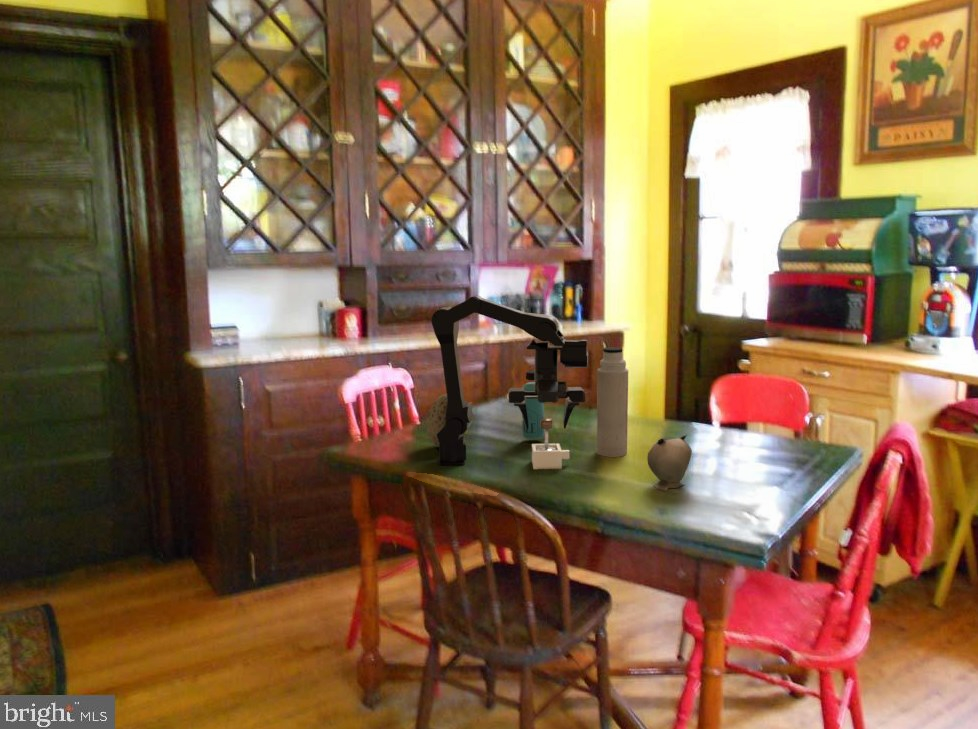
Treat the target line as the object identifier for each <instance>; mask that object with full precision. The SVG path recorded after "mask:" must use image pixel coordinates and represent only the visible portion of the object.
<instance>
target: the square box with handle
mask: <svg viewBox="0 0 978 729" xmlns="http://www.w3.org/2000/svg"><path fill="white" fill-rule="evenodd" d="M539 447H545V443H532V444H531V463H532V468H533V470H561V469H562V468H563V467H562V466H563V464H562V463H563V462H562V461H563V460H570V450H569V449H562V447H561V444H560V443H548V447H553V448H555V449H556V450H552V451H537V449H538V448H539Z"/></svg>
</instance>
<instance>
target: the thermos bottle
mask: <svg viewBox="0 0 978 729" xmlns="http://www.w3.org/2000/svg"><path fill="white" fill-rule="evenodd" d="M602 352H603V358H602V359H601V360H599V367H598V368H597V370H596V371H597V374H596V375H597V376H596V378H597V379H596V380H597V381H596V384H597V385H596V419H597V420H596V421H597V422H596V454H598V455H600V456H603V457H609V458H610V457H614V458H616V457H623V456H626V455H627V454H628V427H629V426H628V425H629V424H628V422H629V420H628V409H629V407H628V406H629V369H628V368H626V367H627V366H626V365H627V362H626V359H624V358H623V348H622V347H616V346H615V347H614V346H609V347H604V348H603V349H602Z"/></svg>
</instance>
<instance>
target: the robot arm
mask: <svg viewBox="0 0 978 729" xmlns="http://www.w3.org/2000/svg"><path fill="white" fill-rule="evenodd" d="M473 314H478V315H481V316H484V317H487V318H490V319H492V320H496V321H499V322H502V323H504V324H507V325H510V326H514V327H517V328H519V329H520V330H522V331H523V332H525V333H526V334H528V335H529V336H532V337H534V338H533V339H532V340H531V342H530V343H529V344H527V345H526V349H527V350H534V371H535V380H534V382H535V391H524V388H522V387H510V388H508V391H507V392H508V393H507V398H508V403H510V404H513V406H514V407H518V408H519V410H520V412H521V416H523V417H522V419H523V418H524V421H525V424H526V427H527V429H529V423H528V416H527V408H526V402H525V399H538V401H539V402H540V403H544V404H545V403H553V404H555V403H559V402H558V401H559V399H565V400H564V401H565V402H564V410H563V411H564V413H563V424H562V425H563V429H567V425H568V422H569V420H570V416H571V414H572V412H573V410H574V408H576V406H580V403H584V402H586V393H585V390H584V389H583V388H582V387H581V386H567V381H559V380H558V378H559V374H558V373H559V372H558V371H559V367H558V366H559V363H558V361H559V362H560V364H562V365H564V368H575V369H576V368H577V369H578V368H580V369H581V368H582V369H584V368H585V369H587V368H589V351H588V340H587V339H580V340H575V339H573V340H568V339H566V336H565V335H564V334H563V333H562V332H561V330H560V328H559V323H558V320H557V318H555V317H554V316H553V315H549V314H542V313H535V312H534V313H532V312H526V311H522V310H518V309H516V308H513V307H509V306H507V305H504V304H501V303H498V302H495V301H492V300H490V299H486V298H484V297H482V296H481V295H473V296H470V297H469V298H468V299H467V300H465V301H463V302H461V303H459V304H457V305H455V306H453V307H452V306H443V307H441V308H439V309H437V310H436V311H434V313H432V315H431V318H430V322H431V326H432V329H433V332H434V334H435V335H434V336H435V337H436V340H437V342H438V344H439V345H440V347H439V348H440V353H441V354H440V355H441V359H442V360H441V362H442V368H443V375H444V385H445V390H446V392H445V393H446V394H447V407H446V415H445V426H444V427H443V428H442V429H441V430H440V431H439V432H438V433H437V438H438V440H439V447H438V448H439V450H438V451H439V452H438V456H439V458H438V459H439V460H438V465H440V466H441V465H442V466H443V465H444V466H445V465H446V466H447V465H449V466H450V465H453V466H454V465H458V466H459V465H465V464H466V463H465V461H467V457H468V455H467V453H468V452H467V442H466V441H465V434H466V431H467V430H468V429H469V428H470V426H472V422H473V419H474V418H475V414H474V412H473V402H472V401H469V402H467V399H466V397H465V395H464V387H463V379H462V372H461V364H460V356H459V347H458V336H459V330H460V321H461V320H463V319H464V318H466V317H468V316H471V315H473ZM538 340H539V341H538ZM550 344H551V345H550ZM558 352H559V353H558ZM558 355H560V356H558ZM464 433H465V434H464ZM463 434H464V436H462V435H463Z"/></svg>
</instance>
